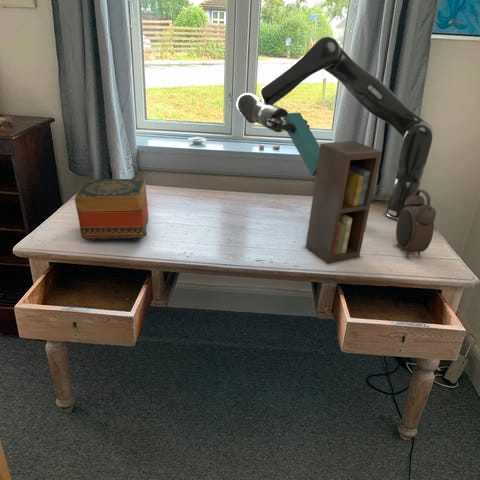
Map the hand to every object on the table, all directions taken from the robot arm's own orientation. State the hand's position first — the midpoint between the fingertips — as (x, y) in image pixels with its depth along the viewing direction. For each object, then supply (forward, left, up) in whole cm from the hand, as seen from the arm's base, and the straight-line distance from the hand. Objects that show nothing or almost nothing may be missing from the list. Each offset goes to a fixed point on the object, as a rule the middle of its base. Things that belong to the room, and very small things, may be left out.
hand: (301, 129), depth 151 cm
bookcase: (-12, +21, -32) cm, 40 cm away
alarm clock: (-37, +18, -32) cm, 52 cm away
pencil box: (-1, +2, -5) cm, 6 cm away
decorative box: (+56, +18, -32) cm, 67 cm away
